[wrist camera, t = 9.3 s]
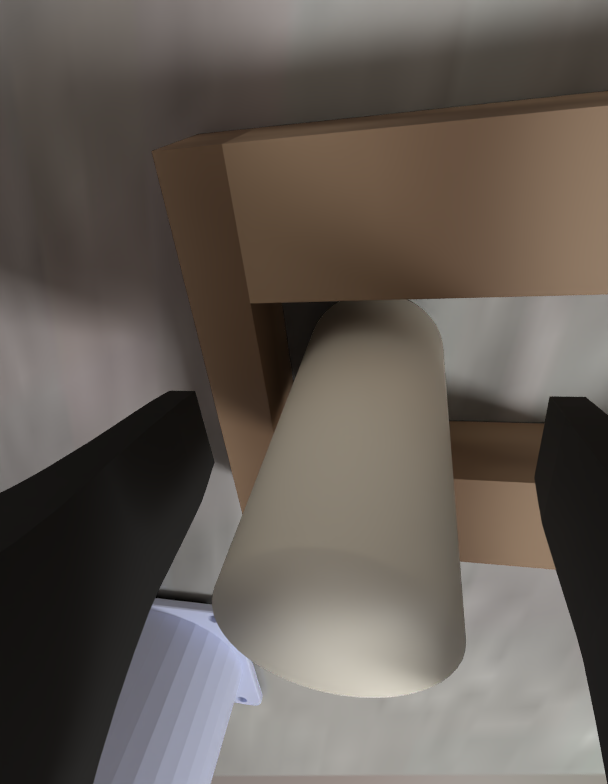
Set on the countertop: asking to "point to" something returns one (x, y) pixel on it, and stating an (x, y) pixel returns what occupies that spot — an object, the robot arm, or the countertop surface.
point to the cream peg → (354, 516)
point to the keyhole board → (390, 259)
